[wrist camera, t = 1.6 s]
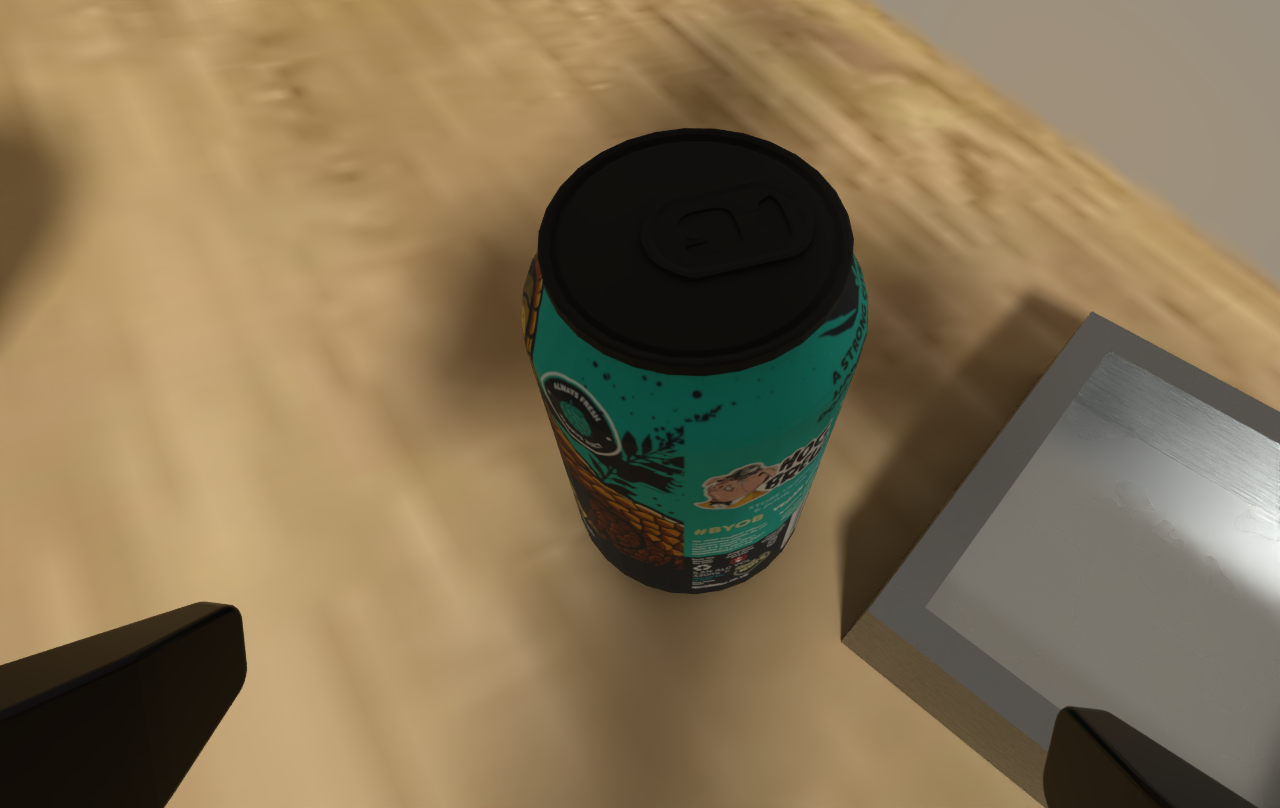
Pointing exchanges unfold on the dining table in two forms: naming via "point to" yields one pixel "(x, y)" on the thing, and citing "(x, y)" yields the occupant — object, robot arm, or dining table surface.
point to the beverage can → (693, 348)
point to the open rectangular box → (1103, 571)
